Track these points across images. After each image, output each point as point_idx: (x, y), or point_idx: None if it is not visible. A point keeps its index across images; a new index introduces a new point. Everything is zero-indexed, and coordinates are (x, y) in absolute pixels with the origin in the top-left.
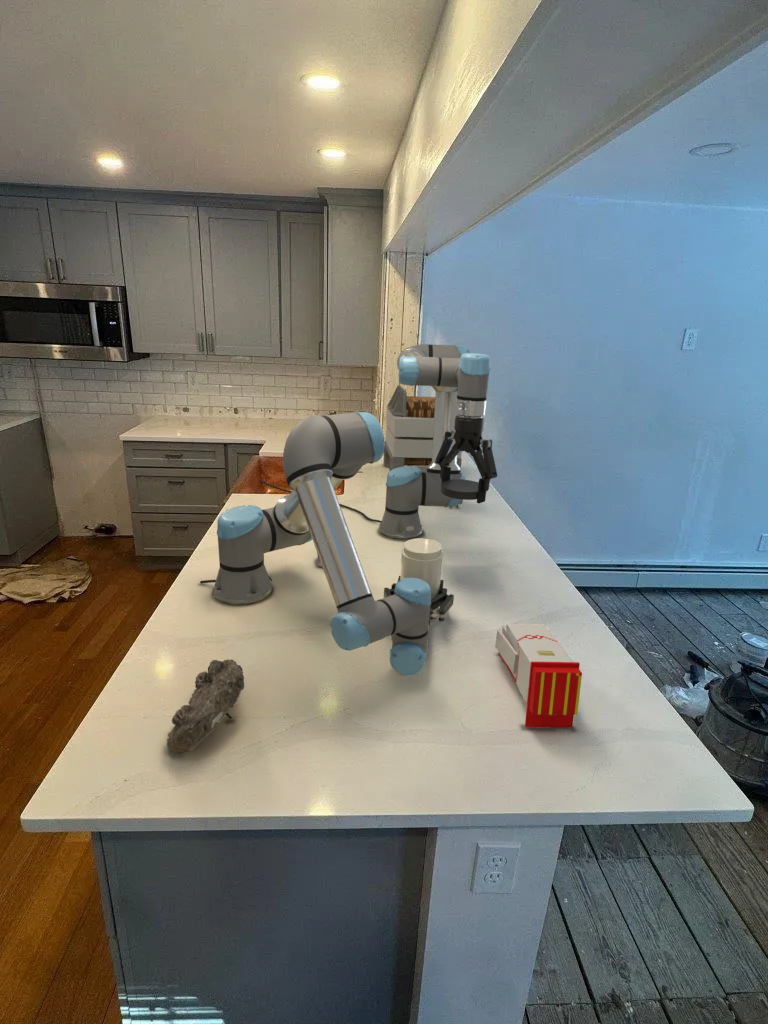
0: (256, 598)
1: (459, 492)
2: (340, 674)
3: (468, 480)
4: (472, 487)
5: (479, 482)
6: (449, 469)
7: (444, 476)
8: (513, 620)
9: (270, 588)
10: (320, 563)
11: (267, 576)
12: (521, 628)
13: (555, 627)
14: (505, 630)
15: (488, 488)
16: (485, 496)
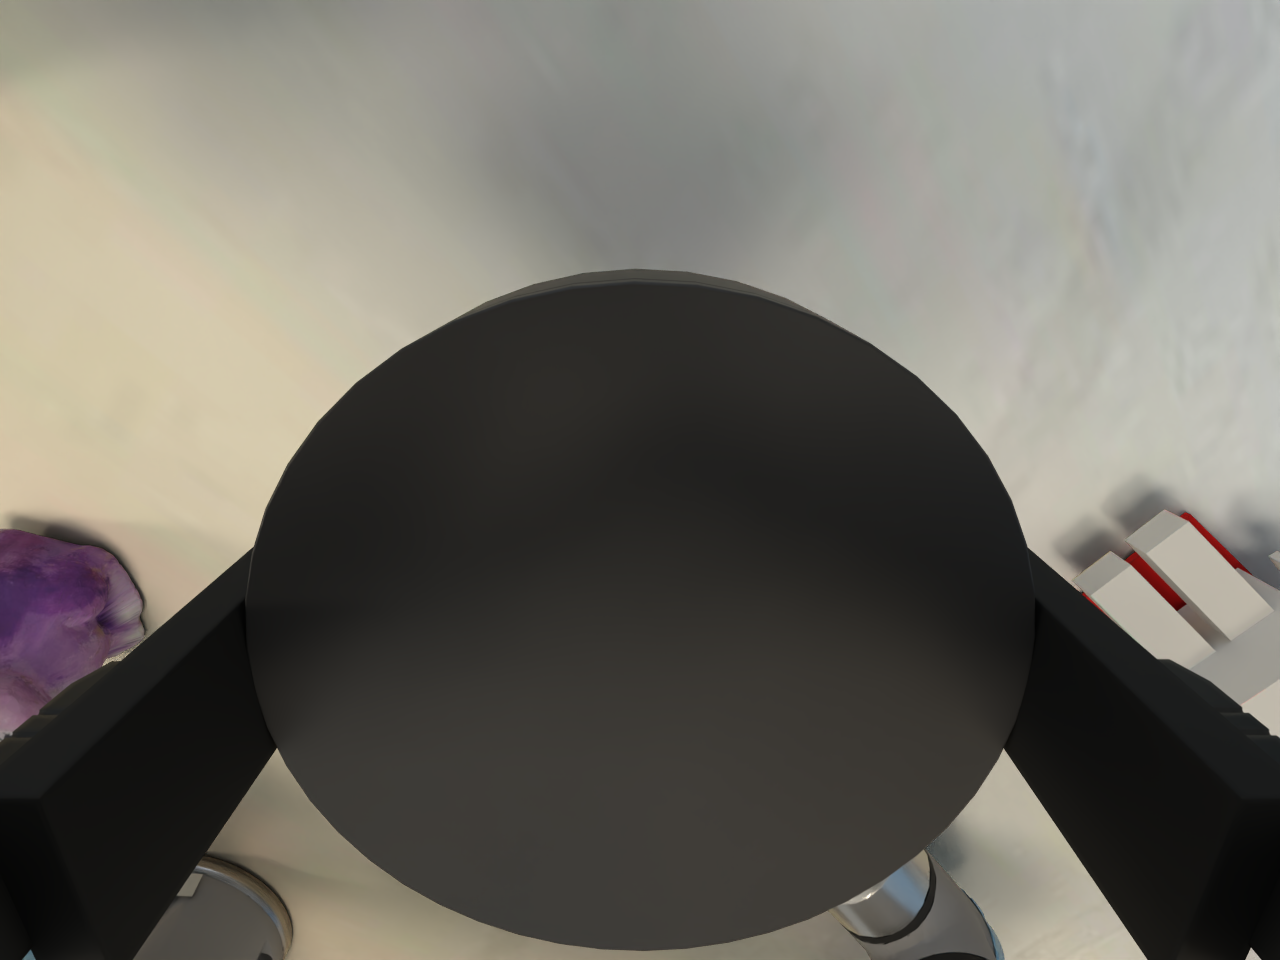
0: (285, 939)
1: (794, 908)
2: (759, 947)
3: (464, 355)
4: (815, 651)
5: (1134, 911)
6: (94, 806)
7: (222, 815)
8: (1008, 365)
9: (244, 892)
10: (107, 657)
11: (205, 934)
12: (1276, 732)
13: (1191, 266)
14: (1122, 626)
15: (1215, 700)
16: (1036, 562)
